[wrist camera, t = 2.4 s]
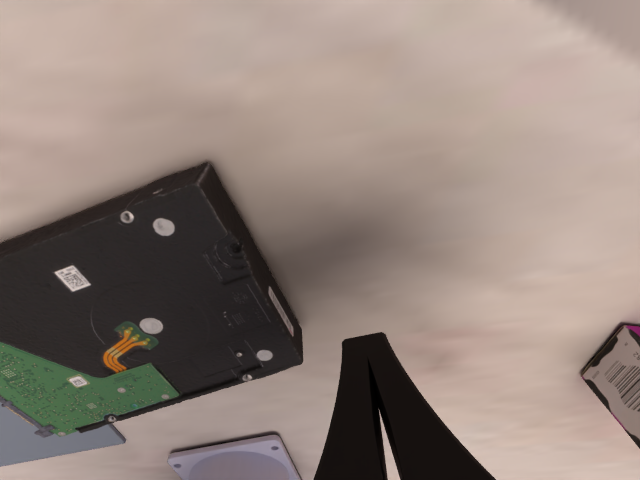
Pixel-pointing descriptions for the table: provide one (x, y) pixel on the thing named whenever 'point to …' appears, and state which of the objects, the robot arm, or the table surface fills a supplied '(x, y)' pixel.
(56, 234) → the disk drive
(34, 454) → the mat
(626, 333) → the candy bar box
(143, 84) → the table surface
